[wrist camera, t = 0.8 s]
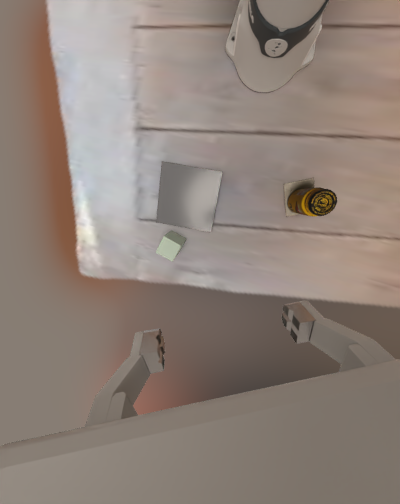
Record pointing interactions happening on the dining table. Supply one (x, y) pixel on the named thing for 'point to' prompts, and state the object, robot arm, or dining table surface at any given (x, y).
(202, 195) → the board
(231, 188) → the dining table surface
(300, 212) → the condiment
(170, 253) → the block
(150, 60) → the dining table surface
